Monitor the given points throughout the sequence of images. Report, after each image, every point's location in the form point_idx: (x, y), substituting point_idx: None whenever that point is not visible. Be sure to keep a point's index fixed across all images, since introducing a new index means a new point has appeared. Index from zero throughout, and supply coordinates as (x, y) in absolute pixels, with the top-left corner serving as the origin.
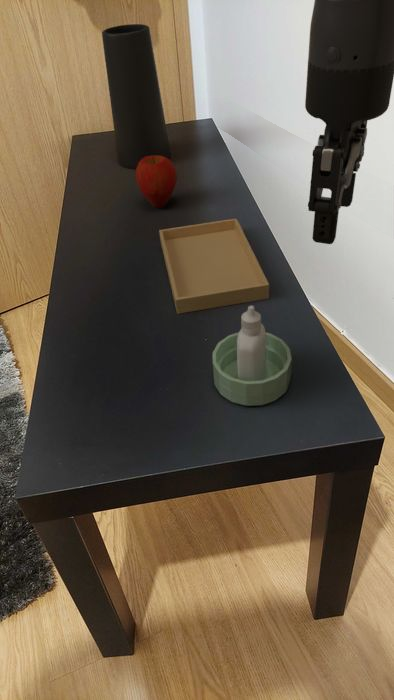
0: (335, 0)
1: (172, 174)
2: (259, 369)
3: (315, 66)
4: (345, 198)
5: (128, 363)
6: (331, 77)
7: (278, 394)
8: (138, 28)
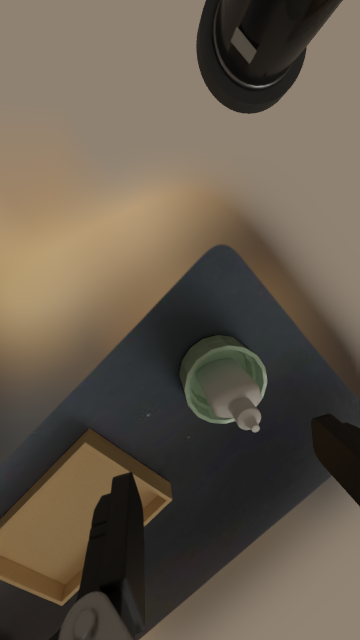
0: None
1: None
2: (235, 368)
3: None
4: (134, 501)
5: (251, 467)
6: None
7: (231, 338)
8: None
